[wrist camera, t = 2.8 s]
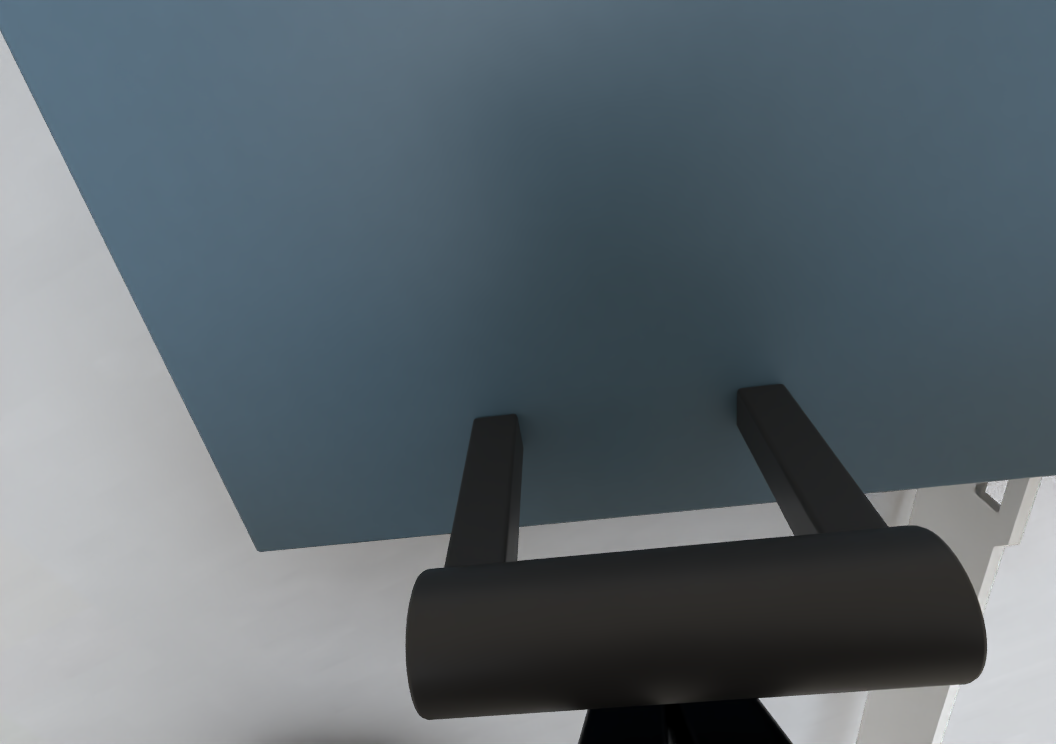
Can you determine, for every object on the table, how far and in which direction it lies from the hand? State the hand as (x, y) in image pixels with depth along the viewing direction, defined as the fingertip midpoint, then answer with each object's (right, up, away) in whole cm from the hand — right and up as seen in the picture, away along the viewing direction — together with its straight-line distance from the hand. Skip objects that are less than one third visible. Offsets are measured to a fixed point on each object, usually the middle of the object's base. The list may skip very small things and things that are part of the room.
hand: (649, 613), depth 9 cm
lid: (-1, +5, 0) cm, 5 cm away
